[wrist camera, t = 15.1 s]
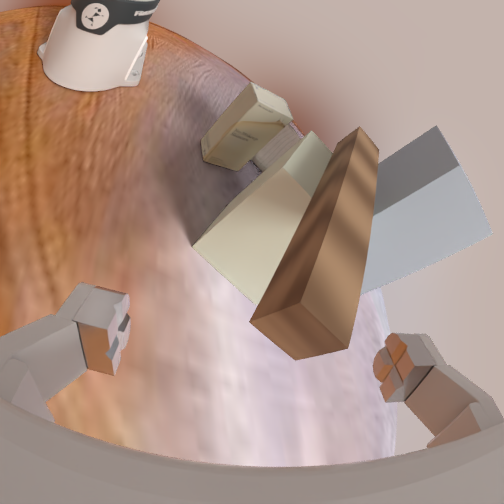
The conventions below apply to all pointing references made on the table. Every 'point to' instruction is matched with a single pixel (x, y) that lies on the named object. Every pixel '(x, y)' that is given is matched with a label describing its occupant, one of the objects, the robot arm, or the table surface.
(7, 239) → the table surface
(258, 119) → the skincare box
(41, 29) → the table surface
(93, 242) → the table surface
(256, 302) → the step block
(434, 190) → the shelf stand
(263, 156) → the washcloth
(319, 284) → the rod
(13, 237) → the table surface
